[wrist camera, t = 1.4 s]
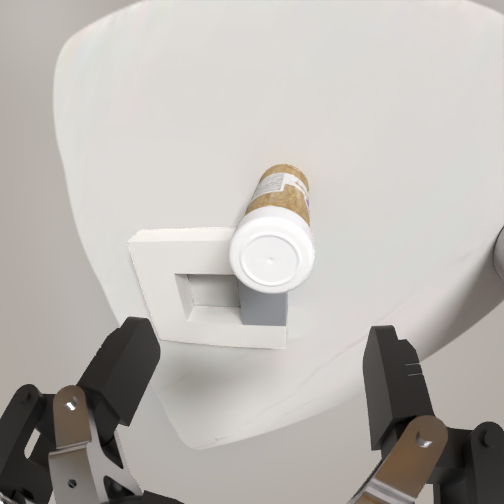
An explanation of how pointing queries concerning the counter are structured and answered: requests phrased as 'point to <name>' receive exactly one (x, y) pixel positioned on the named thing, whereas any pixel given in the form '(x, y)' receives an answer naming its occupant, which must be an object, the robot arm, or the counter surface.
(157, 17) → the counter surface
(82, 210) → the counter surface
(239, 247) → the sprinkles bottle
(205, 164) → the counter surface
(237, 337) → the housing
